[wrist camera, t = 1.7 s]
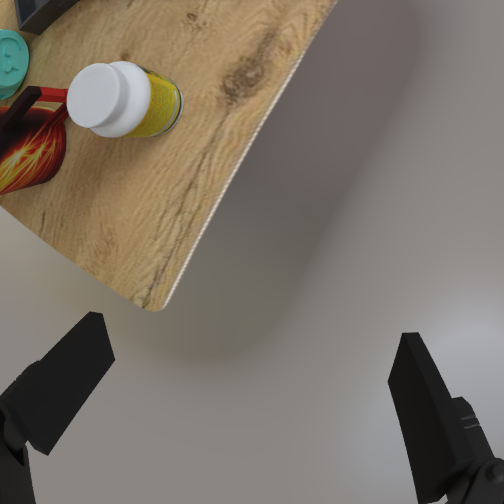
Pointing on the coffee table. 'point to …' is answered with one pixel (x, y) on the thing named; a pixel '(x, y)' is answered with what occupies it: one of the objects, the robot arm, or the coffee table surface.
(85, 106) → the pill bottle
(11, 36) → the decorative dice
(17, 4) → the dark grey storage tray
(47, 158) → the mug
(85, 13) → the coffee table surface
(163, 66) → the coffee table surface
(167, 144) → the coffee table surface
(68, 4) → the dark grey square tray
